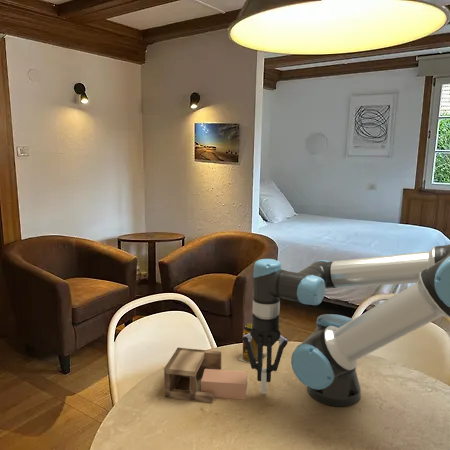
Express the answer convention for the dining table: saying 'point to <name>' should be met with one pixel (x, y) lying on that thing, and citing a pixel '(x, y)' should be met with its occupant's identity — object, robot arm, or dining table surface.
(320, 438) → the dining table surface
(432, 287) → the robot arm
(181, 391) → the dock
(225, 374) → the pink rectangular block
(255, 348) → the condiment
